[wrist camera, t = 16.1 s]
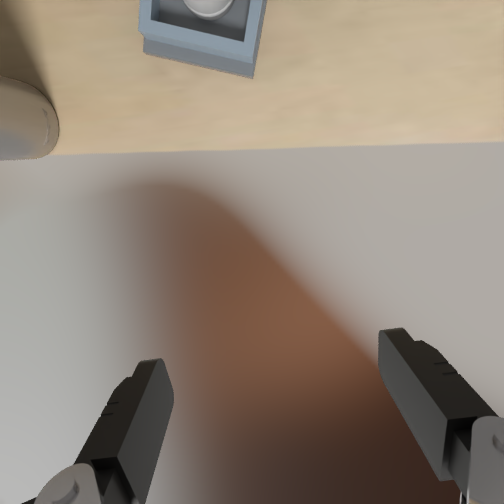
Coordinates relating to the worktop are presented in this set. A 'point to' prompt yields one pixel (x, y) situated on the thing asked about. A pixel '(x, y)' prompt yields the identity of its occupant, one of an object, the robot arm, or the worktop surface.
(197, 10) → the travel mug
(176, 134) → the worktop surface
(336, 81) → the worktop surface
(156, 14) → the light blue open tray
